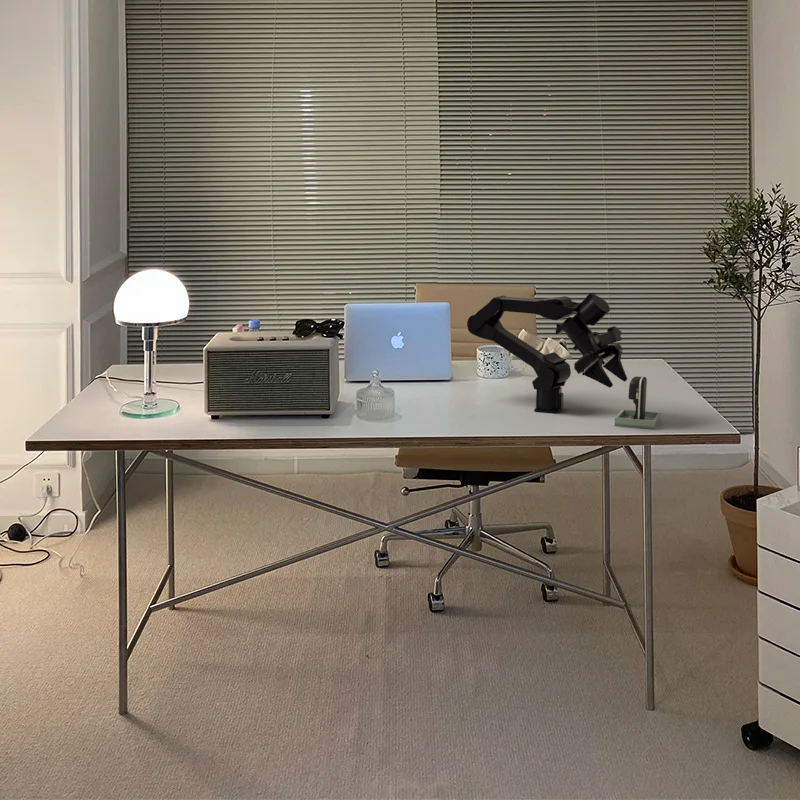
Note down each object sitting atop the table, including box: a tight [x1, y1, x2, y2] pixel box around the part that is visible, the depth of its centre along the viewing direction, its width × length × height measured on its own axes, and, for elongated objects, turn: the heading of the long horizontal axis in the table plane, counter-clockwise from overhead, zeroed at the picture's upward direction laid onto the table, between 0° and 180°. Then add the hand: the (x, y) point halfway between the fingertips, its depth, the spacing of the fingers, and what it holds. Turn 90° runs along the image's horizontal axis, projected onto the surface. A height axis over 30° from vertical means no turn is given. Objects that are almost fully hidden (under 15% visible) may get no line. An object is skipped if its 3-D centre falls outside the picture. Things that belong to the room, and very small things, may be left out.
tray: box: [614, 409, 662, 430], centre depth 269 cm, size 10×10×2 cm
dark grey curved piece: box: [628, 375, 648, 420], centre depth 267 cm, size 7×4×11 cm, turn 160°
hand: (618, 383), depth 270 cm, fingers open, 9 cm apart
